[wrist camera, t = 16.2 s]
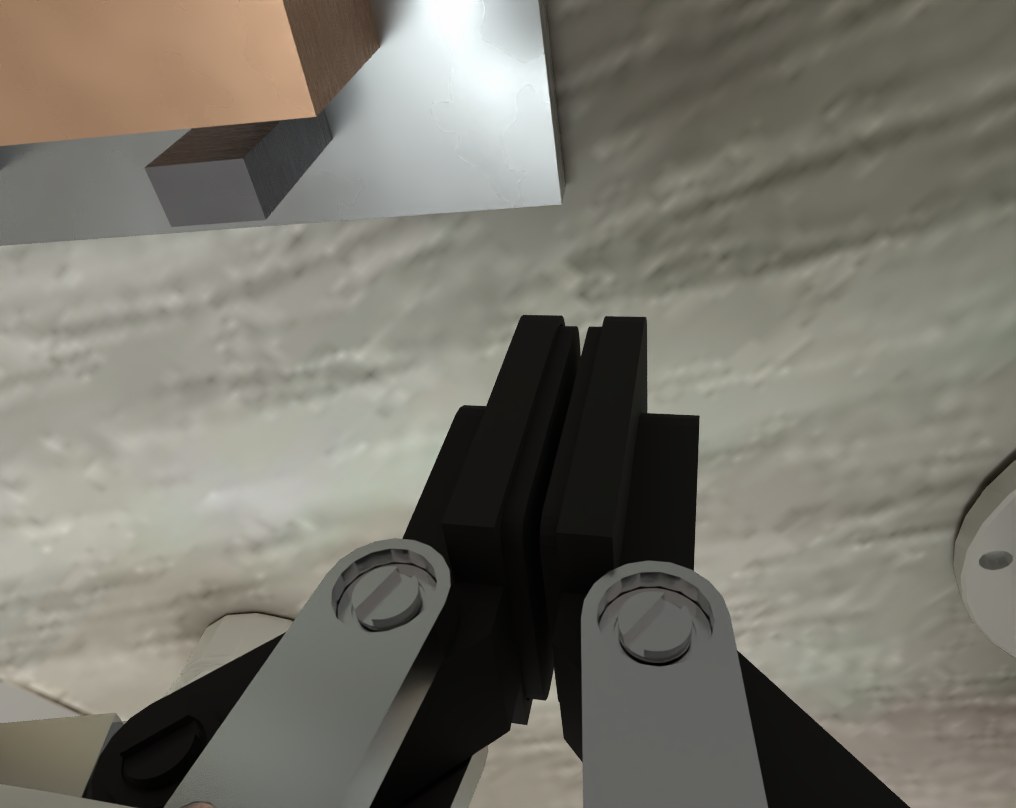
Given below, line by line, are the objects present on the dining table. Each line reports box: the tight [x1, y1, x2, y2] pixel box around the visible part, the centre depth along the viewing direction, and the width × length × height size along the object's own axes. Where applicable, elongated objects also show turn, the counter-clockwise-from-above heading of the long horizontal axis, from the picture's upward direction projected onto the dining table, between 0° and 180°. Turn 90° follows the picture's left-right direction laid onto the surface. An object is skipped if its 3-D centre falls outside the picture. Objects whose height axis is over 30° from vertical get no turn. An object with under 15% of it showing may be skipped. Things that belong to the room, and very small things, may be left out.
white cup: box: [164, 613, 294, 697], centre depth 31 cm, size 8×8×10 cm
